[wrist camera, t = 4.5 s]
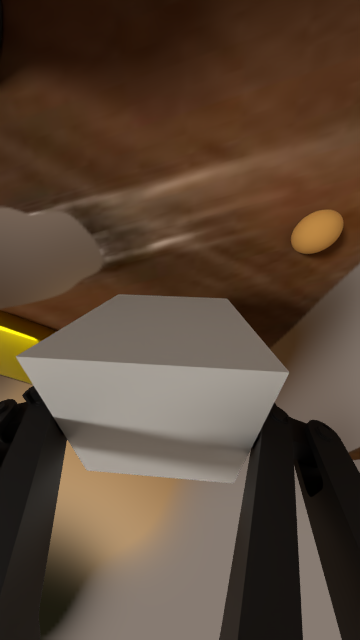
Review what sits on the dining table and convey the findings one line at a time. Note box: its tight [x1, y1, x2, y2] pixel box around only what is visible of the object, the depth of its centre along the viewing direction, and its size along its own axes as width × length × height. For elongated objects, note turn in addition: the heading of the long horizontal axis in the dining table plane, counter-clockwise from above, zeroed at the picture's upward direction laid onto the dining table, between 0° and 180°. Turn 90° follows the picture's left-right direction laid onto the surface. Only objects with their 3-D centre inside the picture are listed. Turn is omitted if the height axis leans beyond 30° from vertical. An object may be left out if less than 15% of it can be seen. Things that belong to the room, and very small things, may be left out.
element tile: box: [0, 311, 56, 384], centre depth 31 cm, size 15×15×5 cm
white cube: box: [16, 294, 289, 483], centre depth 11 cm, size 10×10×9 cm
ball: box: [291, 210, 343, 254], centre depth 19 cm, size 5×5×5 cm
